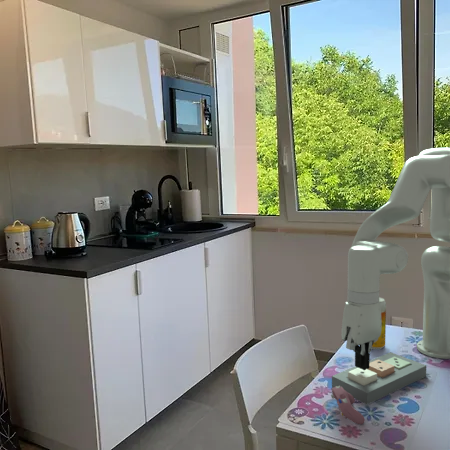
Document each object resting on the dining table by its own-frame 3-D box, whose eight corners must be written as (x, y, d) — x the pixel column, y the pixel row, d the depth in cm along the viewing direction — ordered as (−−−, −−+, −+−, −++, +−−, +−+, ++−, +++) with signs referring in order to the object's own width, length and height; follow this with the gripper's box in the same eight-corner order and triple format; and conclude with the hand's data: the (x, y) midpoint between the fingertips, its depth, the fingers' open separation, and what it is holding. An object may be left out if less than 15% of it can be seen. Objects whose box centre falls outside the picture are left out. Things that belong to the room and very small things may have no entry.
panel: (390, 362, 132) (390, 352, 131) (426, 376, 123) (426, 365, 122) (331, 387, 118) (331, 375, 118) (367, 404, 109) (367, 392, 109)
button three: (394, 366, 128) (394, 356, 127) (410, 373, 124) (410, 362, 123) (382, 371, 125) (382, 361, 125) (398, 378, 121) (399, 367, 120)
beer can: (386, 350, 140) (387, 302, 138) (365, 349, 141) (366, 301, 139) (383, 342, 145) (384, 296, 143) (363, 341, 147) (364, 296, 145)
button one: (360, 377, 120) (360, 366, 119) (376, 384, 116) (377, 373, 115) (347, 383, 117) (347, 371, 117) (363, 390, 113) (363, 379, 112)
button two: (378, 370, 124) (378, 359, 123) (394, 376, 120) (394, 365, 119) (365, 375, 121) (366, 364, 120) (381, 382, 117) (382, 371, 116)
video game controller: (338, 408, 111) (325, 384, 110) (355, 400, 110) (342, 376, 110) (348, 432, 101) (334, 406, 100) (367, 423, 101) (353, 397, 100)
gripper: (370, 287, 120) (369, 355, 123) (330, 298, 112) (329, 370, 115) (395, 294, 114) (393, 364, 117) (355, 305, 106) (353, 381, 108)
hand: (362, 367), depth 116 cm, fingers closed
